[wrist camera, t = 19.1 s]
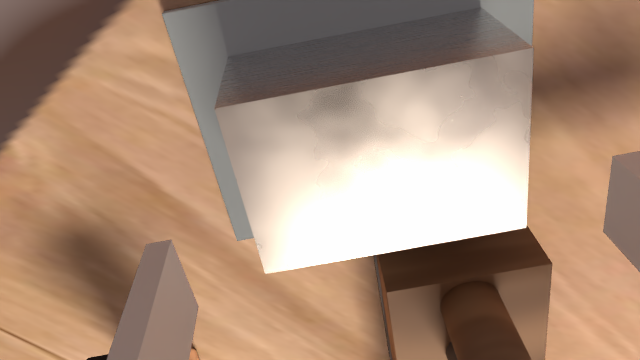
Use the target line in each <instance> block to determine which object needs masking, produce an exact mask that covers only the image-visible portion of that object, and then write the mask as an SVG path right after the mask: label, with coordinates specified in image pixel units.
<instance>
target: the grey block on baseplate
mask: <svg viewBox="0 0 640 360" xmlns="http://www.w3.org/2000/svg"><path fill="white" fill-rule="evenodd" d="M533 55H534V48H533V47H532V46H531V45H529V44H528V43H527V42H526V41H524V40H523V39H522V38H520V37H519V36H518V35H517V34H515V33H514V32H513V31H511V30H510V29H509V28H508V27H506V26H505V25H504V24H502V23H501V22H500V21H498V20H497V19H496V18H495V17H493V16H492V15H491V14H489V13H488V12H487V11H486V10H484V9H483V8H482V7H479V8H474V9H469V10H464V11H459V12H453V13H448V14H443V15H438V16H433V17H428V18H422V19H417V20H412V21H407V22H402V23H397V24H392V25H386V26H381V27H376V28H371V29H366V30H361V31H355V32H350V33H345V34H340V35H335V36H330V37H325V38H319V39H314V40H309V41H304V42H299V43H294V44H288V45H283V46H278V47H273V48H268V49H263V50H258V51H252V52H247V53H242V54H237V55H232V56H228V57H227V61H226V65H225V69H224V73H223V77H222V81H221V84H220V88H219V92H218V96H217V100H216V104H215V108H214V110H215V113H216V116H217V119H218V122H219V126H220V129H221V132H222V135H223V139H224V142H225V145H226V148H227V152H228V155H229V158H230V161H231V165H232V168H233V171H234V174H235V177H236V181H237V184H238V187H239V190H240V194H241V197H242V200H243V203H244V207H245V210H246V213H247V216H248V220H249V223H250V226H251V229H252V232H253V236H254V239H255V242H256V245H257V249H258V252H259V255H260V258H261V262H262V265H263V268H264V271H265V274H268V273H273V272H279V271H285V270H290V269H296V268H302V267H307V266H313V265H319V264H324V263H330V262H335V261H341V260H347V259H352V258H358V257H364V256H369V255H375V254H381V253H386V252H392V251H398V250H403V249H409V248H414V247H420V246H426V245H431V244H437V243H443V242H448V241H454V240H460V239H465V238H471V237H477V236H482V235H488V234H493V233H499V232H505V231H510V230H516V229H522V228H526V225H527V201H528V176H529V152H530V128H531V104H532V79H533Z"/></svg>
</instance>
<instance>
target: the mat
mask: <svg viewBox="0 0 640 360" xmlns="http://www.w3.org/2000/svg"><path fill="white" fill-rule="evenodd" d="M479 7H482V8H483V9H484V10H486V11H487V12H488V13H489V14H491V15H492V16H493V17H495V18H496V19H497V20H498V21H500V22H501V23H502V24H504V25H505V26H506V27H508V28H509V29H510V30H511V31H513V32H514V33H515V34H517V35H518V36H519V37H520V38H522V39H523V40H524V41H526V42H527V43H528V44H529V45H531V46H532V34H533V8H534V0H218V1H213V2H208V3H203V4H198V5H193V6H188V7H183V8H178V9H173V10H168V11H164V12H163V13H162V16H163V19H164V22H165V25H166V28H167V31H168V34H169V37H170V40H171V43H172V46H173V49H174V52H175V55H176V58H177V61H178V64H179V67H180V70H181V73H182V76H183V79H184V82H185V85H186V88H187V91H188V94H189V97H190V100H191V103H192V106H193V109H194V112H195V115H196V118H197V121H198V124H199V127H200V130H201V133H202V136H203V139H204V142H205V145H206V148H207V151H208V154H209V157H210V160H211V163H212V166H213V169H214V172H215V175H216V178H217V181H218V184H219V187H220V190H221V193H222V196H223V199H224V202H225V205H226V208H227V211H228V214H229V217H230V220H231V223H232V226H233V229H234V232H235V235H236V238H237V241H240V240H245V239H251V238H254V236H253V232H252V229H251V226H250V223H249V220H248V216H247V213H246V210H245V207H244V203H243V200H242V197H241V194H240V190H239V187H238V184H237V181H236V177H235V174H234V171H233V168H232V165H231V161H230V158H229V155H228V152H227V148H226V145H225V142H224V139H223V135H222V132H221V129H220V126H219V122H218V119H217V116H216V113H215V110H214V108H215V104H216V100H217V96H218V92H219V88H220V84H221V81H222V77H223V73H224V69H225V65H226V61H227V57H228V56H232V55H237V54H242V53H247V52H252V51H258V50H263V49H268V48H273V47H278V46H283V45H288V44H294V43H299V42H304V41H309V40H314V39H319V38H325V37H330V36H335V35H340V34H345V33H350V32H355V31H361V30H366V29H371V28H376V27H381V26H386V25H392V24H397V23H402V22H407V21H412V20H417V19H422V18H428V17H433V16H438V15H443V14H448V13H453V12H459V11H464V10H469V9H474V8H479Z"/></svg>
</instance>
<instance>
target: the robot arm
mask: <svg viewBox="0 0 640 360" xmlns="http://www.w3.org/2000/svg"><path fill="white" fill-rule="evenodd" d="M603 232H604V233H605V234H606V235H607V236H608V237H609V239H610V240H611V241H612V242H613V243H614V244H615V245H616V246H617V247H618V249H619V250H620V251H621V252H622V253H623V254H624V255H625V256H626V257H627V259H628V260H629V261H630V262H631V263H632V264H633V265H634V266H635V267H636V268H637V270H638V271H639V272H640V152H639V151H637V152H632V153H627V154H621V155H616V156H613V157H612V165H611V173H610V181H609V189H608V197H607V205H606V213H605V221H604V229H603ZM197 311H198V304H197V302H196V299H195V297H194V294H193V292H192V290H191V287H190V285H189V282H188V280H187V277H186V275H185V272H184V270H183V267H182V265H181V262H180V260H179V258H178V255H177V253H176V250H175V248H174V245H173V243H172V240H166V241H161V242H156V243H151V244H146V246H145V249H144V252H143V255H142V258H141V261H140V264H139V266H138V269H137V272H136V275H135V278H134V281H133V284H132V287H131V290H130V293H129V296H128V299H127V302H126V304H125V307H124V310H123V313H122V316H121V319H120V322H119V325H118V328H117V331H116V334H115V337H114V340H113V342H112V345H111V348H110V351H109V354H107V355H102V356H96V357H91V358H88V359H87V360H189V357H190V352H191V346H192V340H193V334H194V329H195V323H196V317H197Z"/></svg>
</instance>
